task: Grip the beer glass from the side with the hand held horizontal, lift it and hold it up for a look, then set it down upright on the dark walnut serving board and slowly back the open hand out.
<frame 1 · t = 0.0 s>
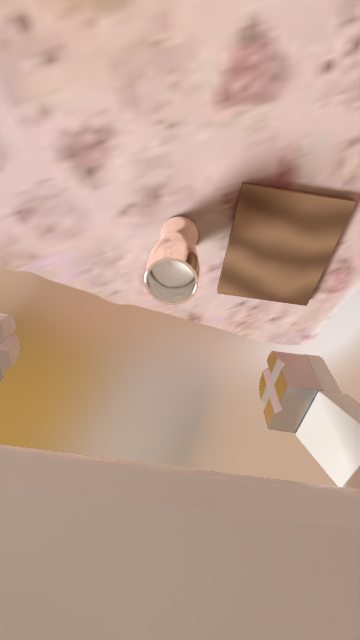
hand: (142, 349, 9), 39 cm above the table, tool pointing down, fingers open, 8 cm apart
beer glass: (179, 234, 47), on the table
walnut board: (277, 248, 48), on the table
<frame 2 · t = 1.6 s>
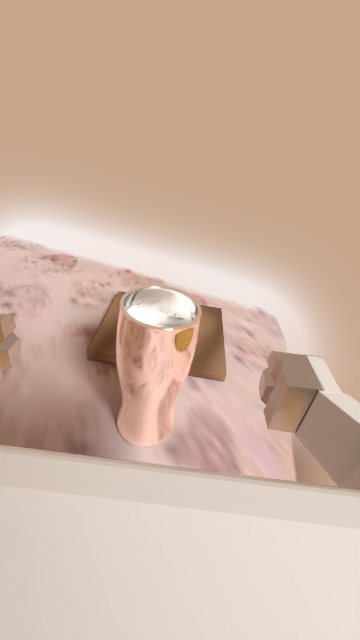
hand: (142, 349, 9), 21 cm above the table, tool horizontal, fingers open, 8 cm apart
beer glass: (145, 423, 32), on the table
walnut board: (163, 334, 45), on the table
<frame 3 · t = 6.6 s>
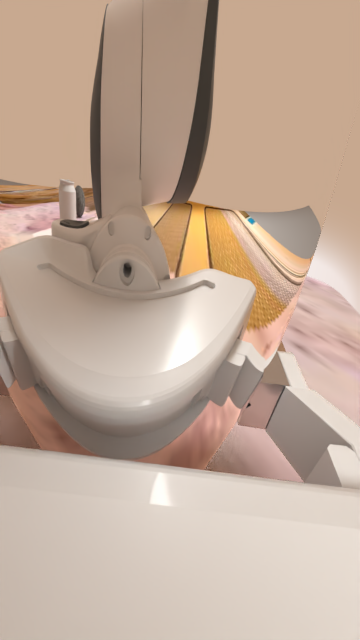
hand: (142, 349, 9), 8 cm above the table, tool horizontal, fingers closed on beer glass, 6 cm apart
beer glass: (129, 499, 13), on the table, touching gripper
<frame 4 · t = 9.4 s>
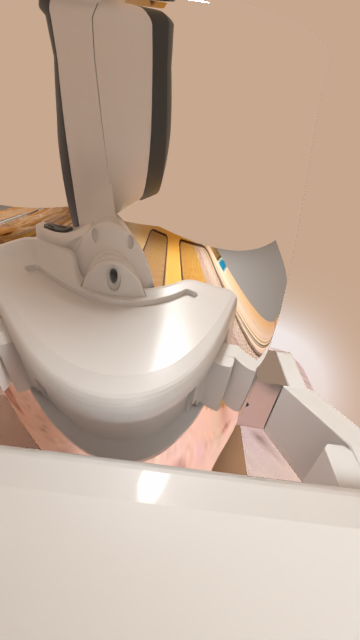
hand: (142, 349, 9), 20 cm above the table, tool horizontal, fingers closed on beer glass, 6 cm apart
beer glass: (143, 506, 13), point 12 cm above the table, touching gripper
walnut board: (154, 402, 33), on the table
when the fingers open (10 cm above the table, at t = 15.3 s): beer glass moves 2 cm, resting on walnut board.
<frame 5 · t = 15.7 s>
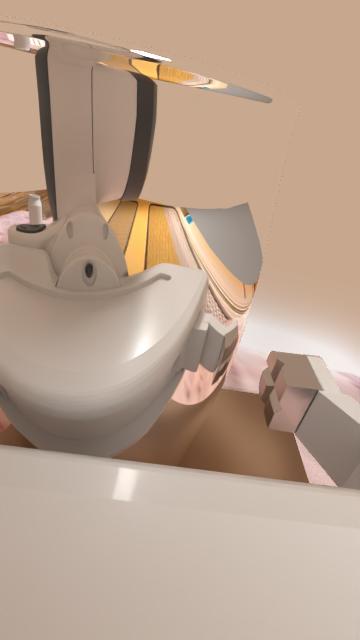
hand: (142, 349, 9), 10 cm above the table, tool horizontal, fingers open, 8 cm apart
beer glass: (105, 504, 13), point 1 cm above the table, touching gripper, walnut board
walnut board: (127, 521, 14), on the table
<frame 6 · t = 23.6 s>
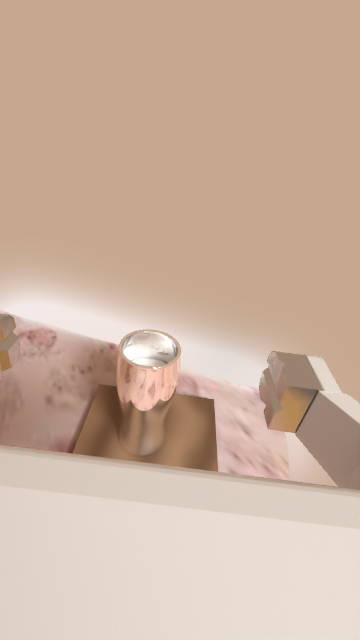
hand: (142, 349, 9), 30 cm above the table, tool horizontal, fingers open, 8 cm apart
beer glass: (141, 436, 39), point 1 cm above the table, touching walnut board
walnut board: (149, 443, 40), on the table
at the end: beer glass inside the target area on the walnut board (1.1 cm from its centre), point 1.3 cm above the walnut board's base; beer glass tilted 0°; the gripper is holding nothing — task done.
